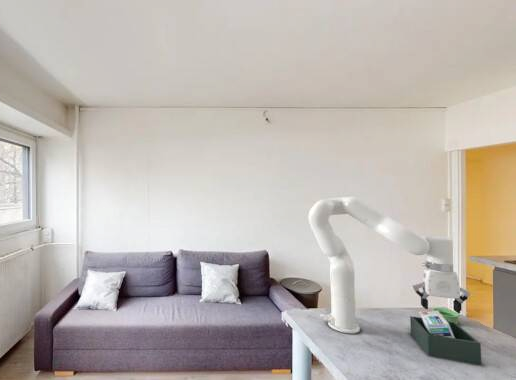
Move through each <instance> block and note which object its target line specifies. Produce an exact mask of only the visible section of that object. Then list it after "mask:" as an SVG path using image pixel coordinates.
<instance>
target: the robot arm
mask: <svg viewBox="0 0 516 380" xmlns="http://www.w3.org/2000/svg"><path fill="white" fill-rule="evenodd" d="M338 215H349V216H350V217H352V218H354V219H355V220H357V221H358V222H360V223H361V224H363V225H365V226H366V227H367V228H370V229H371V230H373V231H374V232H375V233H377V234H379V235H380V236H383V237H384V238H386V239H387V240H390V241H391V242H392V243H394V244H396V245H397V246H399V247H400V248H402V249H403V250H405V251H406V252H408V253H410V254H412V255H414V256H424V255H426V260H425V262H422V263H421V264H422V267H425V268H424V270H423V275H422V282H420V283H416V284H413V285H412V286H411V287H412V289H413V290H414V292H415V293H416V294H417V295H418V296H419V297H420V306H422V308H424V309H425V310H428V309H429V299H427V298H429V297H435V298H436V297H437V298H446V299H453V300H452V304H453V312H456V313H457V314H461V312H462V311H463V310H462V304H463V303H464V302H465V301H467V300H468V298H469V297H470V295H471V293H472V292H470V291H469V290H467V289H464V288H462V287H460V281H459V276H458V273H457V272H456V271H454V242H453V239H452V238H451V237H450V236H447V235H446V236H445V235H436V234H434V235H433V234H432V235H430V234H429V235H428V234H420V233H416V232H415V231H413V230H410V229H409V228H407V227H406V226H404V225H402V224H401V223H399V222H398V221H396V220H395V219H394V218H392V216H390V215H388V214H387V213H385V212H383V211H382V210H380V209H378V208H377V207H375V206H373V205H371V204H370V203H368V202H366V201H365V200H363V199H362V198H359V197H358V196H356V195H350V196H342V197H330V198H322V199H320V200H318V201H316V202H315V203H314V204H313V206H312V207H311V208H310V209H309V212H308V218H307V219H308V224H309V226H310V229H311V231H312V233H313V236H314V238H315V240H316V242H317V244H318V246H319V249H320V251H321V252H322V253H323V255H325V256H326V257H327V258H326V259H327V260H328V261H329V264H330V265H329V281H330V308H331V309H330V310H331V312H329V314H324V313H320V316H319V317H320V319H323V321H325V322H327V324H328V326H329V327H330V328H331V329H333V330H334V331H336V332H337V331H338V332H340V333H343V334H357V333H359V332H360V331H361V326H360V325H359V324H358V323H356V320H357V319H356V293H355V292H356V291H355V290H356V289H355V288H356V287H355V267H354V262H353V260H352V258H351V256H350V254H349V252H348V251H347V248H346V246H345V244H344V242H343V240H342V239H341V237H339V236H338V235H336V233H335V231H334V229H333V227H332V226H331V225H332V224H331V223H330V220H329V219H330V217H331V216H338ZM419 289H422V292H421V291H420V290H419ZM461 292H462V294H461Z"/></svg>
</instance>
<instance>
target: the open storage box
mask: <svg viewBox="0 0 516 380" xmlns="http://www.w3.org/2000/svg"><path fill="white" fill-rule="evenodd" d="M409 321H410V324H409V325H410V335H411V336H412V338H413V339H414V340H415V342H416V343H418V345H419V346H420V347H421V348H422V350H423V351H424V352H425V353H426V354H427V356H428V357H433V358H438V359H443V360H444V359H445V360H450V361H455V362H461V363H467V364H473V365H479V366H482V343H481V342H479V340H477V339H476V338H475V337H474V336H472V335H471V334H470V333H469V332H467V330H465V329H464V328H463V327H462V326H460V325H459V324H458V323H457V324H456V323H455V322H450V321H447V322H448V323H449V325H450V328H451V330H452V332H453V335H454V337H455V338H448V337H441V336H435V335H429V334H428V332H427V329H426V327H425V325H424V323H423V320H422V318H421V316H420V317H419V316H412V315H411V316H409Z"/></svg>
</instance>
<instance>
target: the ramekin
mask: <svg viewBox="0 0 516 380" xmlns="http://www.w3.org/2000/svg"><path fill="white" fill-rule="evenodd" d="M431 311H439V312H440V313H441V315H442V316H443V317H444V319H445V320H446V321H450V322H455V323H456V324H458V321H459V317H460V315H459V313H457V312H456V311H454V310H450V309H447V308H441V307H434V308H431Z"/></svg>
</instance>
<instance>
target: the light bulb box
mask: <svg viewBox="0 0 516 380" xmlns="http://www.w3.org/2000/svg"><path fill="white" fill-rule="evenodd" d="M418 313H419V315H420V318H422V320H423V323H424V325H425V327H426V329H427V332H428V334H429V335H435V336H441V337H448V338H455V337H454V335H453V332H452V330H451V328H450V325H449V323H448V322H447V321H446V320H445V319H444V317H443V316H442V315H441V313H440V312H439V311H432V310H431V311H419V312H418Z"/></svg>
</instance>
